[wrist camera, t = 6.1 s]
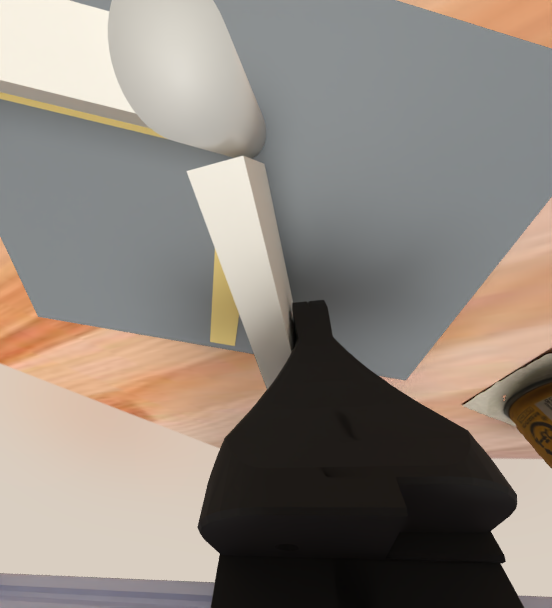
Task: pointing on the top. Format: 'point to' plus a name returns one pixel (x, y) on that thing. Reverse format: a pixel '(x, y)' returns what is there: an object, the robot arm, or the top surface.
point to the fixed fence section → (135, 68)
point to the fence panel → (249, 255)
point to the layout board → (298, 181)
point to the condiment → (523, 404)
